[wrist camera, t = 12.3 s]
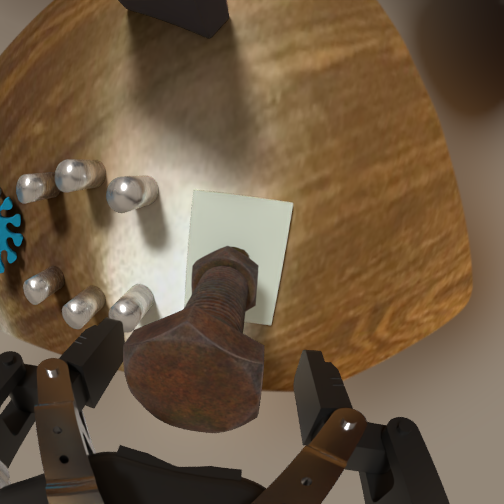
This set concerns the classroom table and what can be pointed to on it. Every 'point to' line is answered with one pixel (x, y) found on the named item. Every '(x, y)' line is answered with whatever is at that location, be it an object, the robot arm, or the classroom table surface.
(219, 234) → the plate
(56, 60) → the classroom table surface
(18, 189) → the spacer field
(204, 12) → the dark grey slab
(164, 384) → the bolt
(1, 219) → the gear
